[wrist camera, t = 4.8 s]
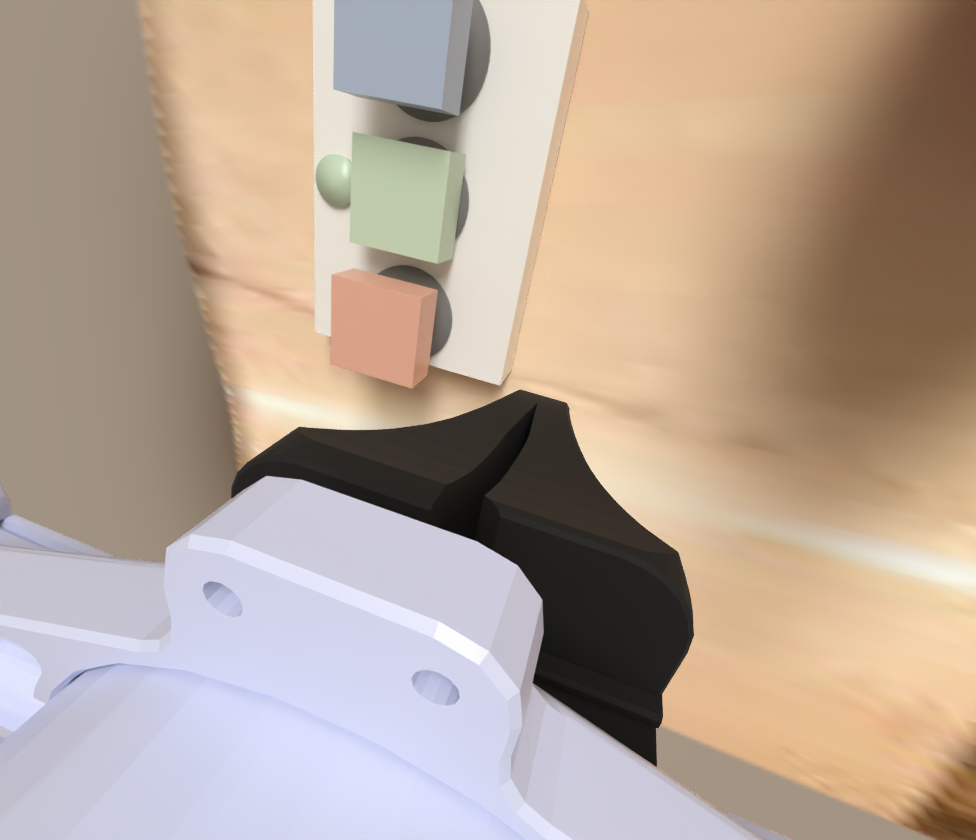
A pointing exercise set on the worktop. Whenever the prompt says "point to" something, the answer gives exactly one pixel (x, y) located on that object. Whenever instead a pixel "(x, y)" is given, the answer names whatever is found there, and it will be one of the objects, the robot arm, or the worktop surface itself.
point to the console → (486, 181)
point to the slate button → (402, 51)
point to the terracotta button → (381, 326)
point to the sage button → (405, 197)
